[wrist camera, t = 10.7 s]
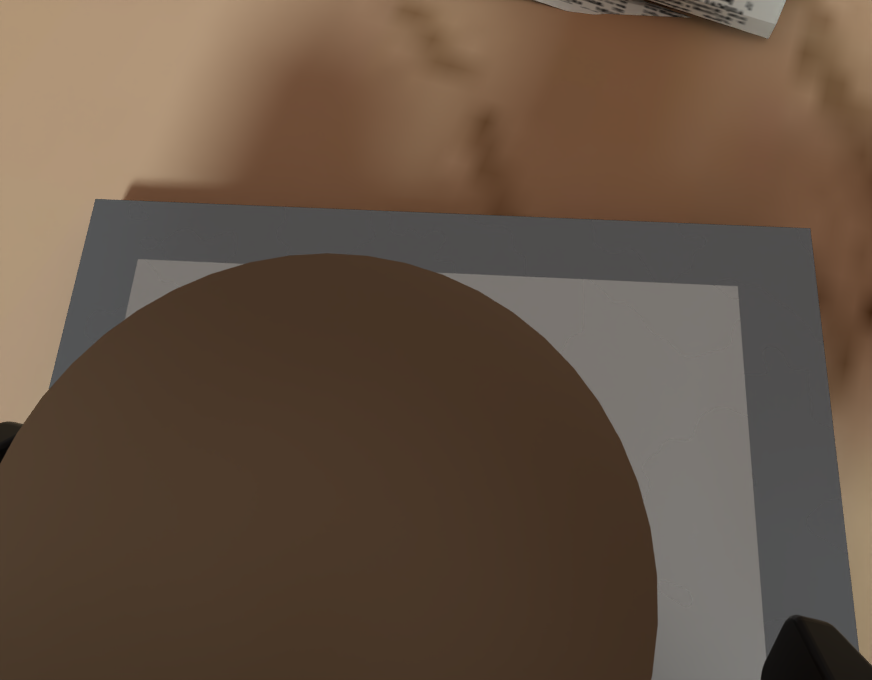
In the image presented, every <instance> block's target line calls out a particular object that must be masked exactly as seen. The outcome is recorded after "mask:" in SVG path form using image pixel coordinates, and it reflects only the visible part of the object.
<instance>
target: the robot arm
mask: <svg viewBox="0 0 872 680" xmlns="http://www.w3.org/2000/svg"><path fill="white" fill-rule="evenodd" d="M22 425H23V424H20V423H16V422H2V423H0V463H1V461H2V459H3V458H4V456H5V454H6V452H7V450H8V448H9V447H10V445H11V443H12V441H13V439H14V438H15V436H16V434H17V432H18V431H19V430H20V428H21V427H22ZM761 680H872V665H871V664H870V663H869V662H868V661H867V660H866V659H865V658H864V657H863V656H862V655H861V654H860V653H859V652H858V651H857V650H856V648H855V647H854V646H853V645H852V644H851V643H850V642H849V641H848V640H847V639H846V638H845V637H844V636H843V635H842V634H841V633H840V632H839V631H838V630H837V629H836V628H835V627H834V626H833V625H832V624H830V623H828V622H825V621H822V620H818V619H813V618H809V617H805V616H801V615H792V616H789V617H788V618H787V619H786V621H785V622H784V624H783V626H782V628H781V630H780V632H779V634H778V636H777V638H776V640H775V642H774V644H773V646H772V648H771V650H770V652H769V654H768V656H767V658H766V660H765V662H764V665H763V668H762V673H761Z"/></svg>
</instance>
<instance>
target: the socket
mask: <svg viewBox="0 0 872 680" xmlns="http://www.w3.org/2000/svg"><path fill="white" fill-rule="evenodd" d="M325 253H331V254H347V255H363V256H371V257H377V258H382V259H387V260H393V261H398V262H403V263H408V264H411V265H414V266H417V267H420V268H423V269H427V270H430V271H433V272H436V273H439V274H442V275H445V276H447V277H449V278H451V279H454V280H456V281H458V282H460V283H462V284H464V285H467V286H469V287H471V288H473V289H475V290H478V291H480V292H481V293H483V294H484V295H486V296H488V297H489V298H491V299H492V300H494V301H496V302H497V303H499V304H501V305H502V306H504V307H505V308H507V309H509V310H510V311H512V312H513V313H515V314H516V315H517V316H518V317H520V318H521V319H522V320H523V321H525V322H526V323H527V324H528V325H530V326H531V327H532V328H533V329H534V330H536V331H537V332H538V333H539V334H541V335H542V336H543V337H544V338H545V339H546V340H547V341H548V342H549V343H550V344H551V345H552V346H553V347H554V348H555V349H556V350H557V351H558V352H559V353H560V354H561V355H562V356H563V357H564V358H565V359H566V360H567V361H568V362H569V363H570V365H571V366H572V367H573V368H574V369H575V370H576V372H577V373H578V374H579V376H580V377H581V378H582V380H583V381H584V382H585V384H586V385H587V386H588V388H589V389H590V390H591V392H592V393H593V394H594V396H595V397H596V398H597V400H598V401H599V402H600V404H601V406H602V408H603V410H604V411H605V413H606V415H607V417H608V418H609V420H610V422H611V424H612V425H613V427H614V429H615V431H616V433H617V434H618V436H619V438H620V440H621V442H622V444H623V447H624V449H625V451H626V454H627V456H628V459H629V461H630V464H631V466H632V468H633V471H634V473H635V476H636V478H637V481H638V483H639V487H640V491H641V495H642V498H643V502H644V506H645V509H646V513H647V517H648V520H649V524H650V528H651V535H652V542H653V549H654V556H655V563H656V571H657V600H658V628H657V637H656V646H655V655H654V664H653V673H652V678H651V680H761V673H762V668H763V665H764V662H765V660H766V658H767V656H768V654H769V652H770V650H771V648H772V646H773V644H774V642H775V640H776V638H777V636H778V634H779V632H780V630H781V628H782V626H783V624H784V622H785V621H786V619H787V618H788V617H789V616H792V615H801V616H805V617H809V618H813V619H818V620H822V621H825V622H828V623H830V624H832V625H833V626H834V627H835V628H836V629H837V630H838V631H839V632H840V633H841V634H842V635H843V636H844V637H845V638H846V639H847V640H848V641H849V642H850V643H851V644H852V645H853V646H854V647H855V648H856V650H857V651H858V652H859V646H858V638H857V629H856V620H855V612H854V603H853V594H852V586H851V577H850V568H849V560H848V551H847V542H846V534H845V525H844V516H843V508H842V499H841V490H840V482H839V473H838V464H837V456H836V447H835V438H834V430H833V421H832V412H831V404H830V395H829V387H828V378H827V369H826V361H825V352H824V343H823V335H822V326H821V317H820V309H819V300H818V291H817V283H816V274H815V265H814V257H813V248H812V239H811V231H810V228H788V227H764V226H739V225H715V224H691V223H666V222H642V221H618V220H593V219H569V218H545V217H520V216H496V215H471V214H447V213H423V212H398V211H374V210H350V209H325V208H301V207H276V206H252V205H228V204H203V203H179V202H155V201H130V200H106V199H95V203H94V207H93V211H92V216H91V220H90V224H89V228H88V232H87V236H86V240H85V244H84V248H83V252H82V256H81V260H80V264H79V268H78V272H77V277H76V281H75V285H74V289H73V293H72V297H71V301H70V305H69V309H68V313H67V317H66V321H65V325H64V329H63V334H62V338H61V342H60V346H59V350H58V354H57V358H56V362H55V366H54V370H53V374H52V378H51V382H50V386H49V389H50V388H51V387H52V386H53V384H54V383H55V382H56V381H57V380H58V379H59V378H60V377H61V375H62V374H63V373H64V372H65V371H66V370H67V369H68V368H69V366H70V365H71V364H72V363H73V362H74V361H75V360H77V359H78V358H79V357H80V356H81V355H82V354H83V353H84V352H85V351H86V350H88V349H89V348H90V347H91V346H92V345H93V344H94V343H95V342H96V341H97V340H99V339H100V338H101V337H102V336H103V335H104V334H106V333H107V332H108V331H110V330H111V329H113V328H114V327H115V326H117V325H118V324H119V323H121V322H122V321H124V320H125V319H126V318H128V317H129V316H130V315H132V314H133V313H135V312H136V311H137V310H139V309H141V308H143V307H144V306H146V305H148V304H150V303H151V302H153V301H155V300H157V299H158V298H160V297H162V296H164V295H166V294H167V293H169V292H171V291H173V290H175V289H177V288H179V287H182V286H184V285H186V284H189V283H191V282H193V281H196V280H198V279H200V278H203V277H205V276H207V275H210V274H212V273H216V272H219V271H222V270H226V269H229V268H233V267H236V266H239V265H243V264H246V263H249V262H255V261H260V260H266V259H272V258H278V257H283V256H289V255H307V254H325Z"/></svg>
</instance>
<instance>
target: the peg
mask: <svg viewBox="0 0 872 680" xmlns="http://www.w3.org/2000/svg"><path fill="white" fill-rule="evenodd" d="M657 628H658V600H657V571H656V563H655V556H654V549H653V542H652V535H651V528H650V524H649V520H648V517H647V513H646V509H645V506H644V502H643V498H642V495H641V491H640V487H639V483H638V481H637V478H636V476H635V473H634V471H633V468H632V466H631V464H630V461H629V459H628V456H627V454H626V451H625V449H624V447H623V444H622V442H621V440H620V438H619V436H618V434H617V433H616V431H615V429H614V427H613V425H612V424H611V422H610V420H609V418H608V417H607V415H606V413H605V411H604V410H603V408H602V406H601V404H600V402H599V401H598V400H597V398H596V397H595V396H594V394H593V393H592V392H591V390H590V389H589V388H588V386H587V385H586V384H585V382H584V381H583V380H582V378H581V377H580V376H579V374H578V373H577V372H576V370H575V369H574V368H573V367H572V366H571V365H570V363H569V362H568V361H567V360H566V359H565V358H564V357H563V356H562V355H561V354H560V353H559V352H558V351H557V350H556V349H555V348H554V347H553V346H552V345H551V344H550V343H549V342H548V341H547V340H546V339H545V338H544V337H543V336H542V335H541V334H539V333H538V332H537V331H536V330H534V329H533V328H532V327H531V326H530V325H528V324H527V323H526V322H525V321H523V320H522V319H521V318H520V317H518V316H517V315H516V314H515V313H513V312H512V311H510V310H509V309H507V308H505V307H504V306H502V305H501V304H499V303H497V302H496V301H494V300H492V299H491V298H489V297H488V296H486V295H484V294H483V293H481V292H480V291H478V290H475V289H473V288H471V287H469V286H467V285H464V284H462V283H460V282H458V281H456V280H454V279H451V278H449V277H447V276H445V275H442V274H439V273H436V272H433V271H430V270H427V269H423V268H420V267H417V266H414V265H411V264H408V263H403V262H398V261H393V260H387V259H382V258H377V257H371V256H363V255H347V254H331V253H325V254H307V255H289V256H283V257H278V258H272V259H266V260H260V261H255V262H249V263H246V264H243V265H239V266H236V267H233V268H229V269H226V270H222V271H219V272H216V273H212V274H210V275H207V276H205V277H203V278H200V279H198V280H196V281H193V282H191V283H189V284H186V285H184V286H182V287H179V288H177V289H175V290H173V291H171V292H169V293H167V294H166V295H164V296H162V297H160V298H158V299H157V300H155V301H153V302H151V303H150V304H148V305H146V306H144V307H143V308H141V309H139V310H137V311H136V312H135V313H133V314H132V315H130V316H129V317H128V318H126V319H125V320H124V321H122V322H121V323H119V324H118V325H117V326H115V327H114V328H113V329H111V330H110V331H108V332H107V333H106V334H104V335H103V336H102V337H101V338H100V339H99V340H97V341H96V342H95V343H94V344H93V345H92V346H91V347H90V348H89V349H88V350H86V351H85V352H84V353H83V354H82V355H81V356H80V357H79V358H78V359H77V360H75V361H74V362H73V363H72V364H71V365H70V366H69V368H68V369H67V370H66V371H65V372H64V373H63V374H62V375H61V377H60V378H59V379H58V380H57V381H56V382H55V383H54V384H53V386H52V387H51V388H50V389H49V390H48V391H47V392H46V394H45V395H44V396H43V397H42V398H41V400H40V401H39V403H38V404H37V405H36V407H35V408H34V410H33V411H32V413H31V414H30V415H29V417H28V418H27V420H26V421H25V422H24V424H23V425H22V427H21V428H20V430H19V431H18V432H17V434H16V436H15V438H14V439H13V441H12V443H11V445H10V447H9V448H8V450H7V452H6V454H5V456H4V458H3V459H2V461H1V463H0V680H651V678H652V673H653V664H654V655H655V646H656V637H657Z"/></svg>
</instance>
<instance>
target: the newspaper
mask: <svg viewBox="0 0 872 680" xmlns="http://www.w3.org/2000/svg"><path fill="white" fill-rule="evenodd" d="M535 1H538V2H541V3H544V4H547V5H550V6H553V7H556V8H559V9H562V10H565V11H570V12H578V13H586V14H594V15H595V14H623V15H645V16H667V17H688V16H686V15H683V14H680V13H677V12H674V11H671V10H668V9H666V8H663V7H660V6H657V5H654V4H651V3H648V2H646V1H643V0H535ZM649 1H653V2H656V3H659V4H662V5H665V6H668V7H671V8H674V9H677V10H681V11H684V12H687V13H690V14H693V15H696V16H699V17H702V18H705V19H709V20H712V21H715V22H718V23H721V24H724V25H727V26H730V27H734V28H737V29H740V30H743V31H746V32H749V33H752V34H755V35H758V36H762V37H765V38H767V39H768V38H769V37H770V35H771V33H772V31H773V29H774V27H775V26H776V23H777V21H778V18H779V16H780V14H781V11H782V9H783V6H784V4H785V2H786V0H649ZM689 18H691V17H689Z"/></svg>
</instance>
